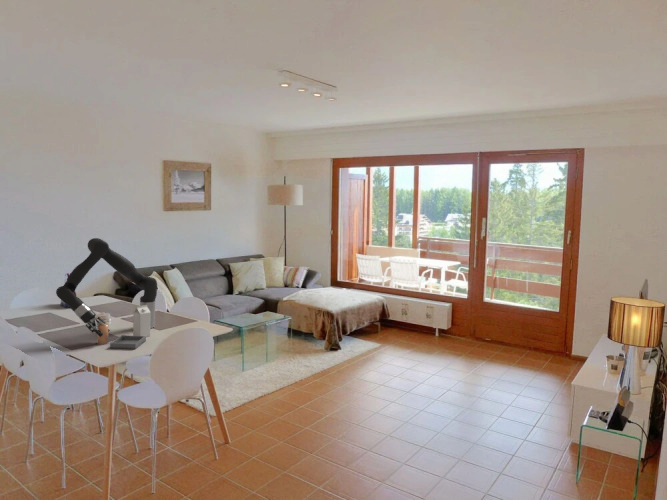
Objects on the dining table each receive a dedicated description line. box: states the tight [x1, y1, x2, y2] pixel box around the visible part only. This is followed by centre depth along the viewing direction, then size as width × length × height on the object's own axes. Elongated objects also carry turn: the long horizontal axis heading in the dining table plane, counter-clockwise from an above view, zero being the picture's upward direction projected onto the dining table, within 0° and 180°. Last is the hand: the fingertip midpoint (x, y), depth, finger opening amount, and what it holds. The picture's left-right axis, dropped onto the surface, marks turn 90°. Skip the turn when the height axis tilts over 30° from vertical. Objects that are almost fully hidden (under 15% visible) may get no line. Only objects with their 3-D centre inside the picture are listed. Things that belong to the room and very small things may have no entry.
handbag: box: [60, 272, 78, 309], centre depth 367 cm, size 21×10×25 cm, turn 49°
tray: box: [109, 334, 147, 350], centre depth 281 cm, size 16×14×3 cm
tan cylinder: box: [97, 322, 109, 346], centre depth 281 cm, size 6×6×11 cm
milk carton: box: [132, 305, 151, 338], centre depth 298 cm, size 7×7×19 cm
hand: (105, 333), depth 281 cm, fingers open, 8 cm apart
